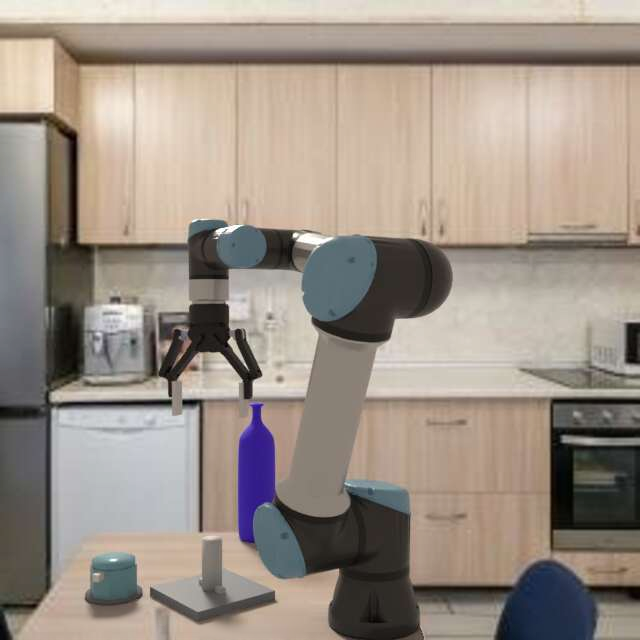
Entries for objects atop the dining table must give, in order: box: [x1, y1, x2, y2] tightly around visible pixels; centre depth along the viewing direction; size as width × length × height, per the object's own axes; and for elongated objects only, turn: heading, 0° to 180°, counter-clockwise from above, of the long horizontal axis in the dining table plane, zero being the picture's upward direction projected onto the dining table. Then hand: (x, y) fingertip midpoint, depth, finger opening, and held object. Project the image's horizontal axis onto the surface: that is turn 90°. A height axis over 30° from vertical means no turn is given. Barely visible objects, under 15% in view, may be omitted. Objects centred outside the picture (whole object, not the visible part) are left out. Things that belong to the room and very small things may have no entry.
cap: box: [89, 551, 138, 600], centre depth 151 cm, size 11×8×6 cm
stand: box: [149, 535, 276, 622], centre depth 151 cm, size 16×16×10 cm
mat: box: [84, 584, 143, 606], centre depth 152 cm, size 10×10×1 cm
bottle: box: [237, 402, 276, 543], centre depth 188 cm, size 8×8×30 cm
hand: (210, 416), depth 159 cm, fingers open, 13 cm apart
